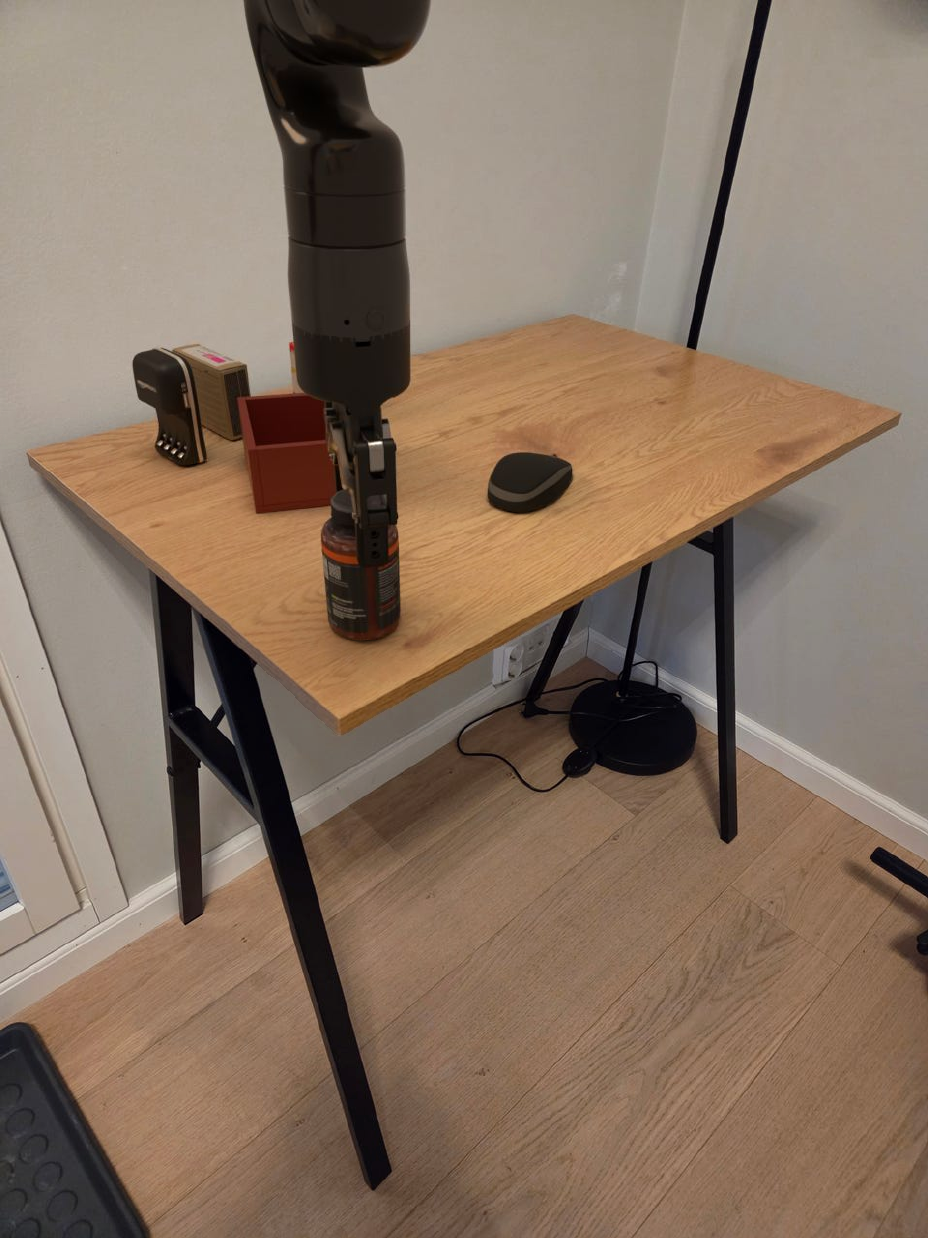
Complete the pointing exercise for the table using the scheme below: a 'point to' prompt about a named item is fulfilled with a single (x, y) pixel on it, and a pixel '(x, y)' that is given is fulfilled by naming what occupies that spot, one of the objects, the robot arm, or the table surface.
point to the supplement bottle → (358, 577)
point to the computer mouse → (528, 481)
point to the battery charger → (171, 404)
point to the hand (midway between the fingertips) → (361, 535)
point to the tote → (286, 451)
